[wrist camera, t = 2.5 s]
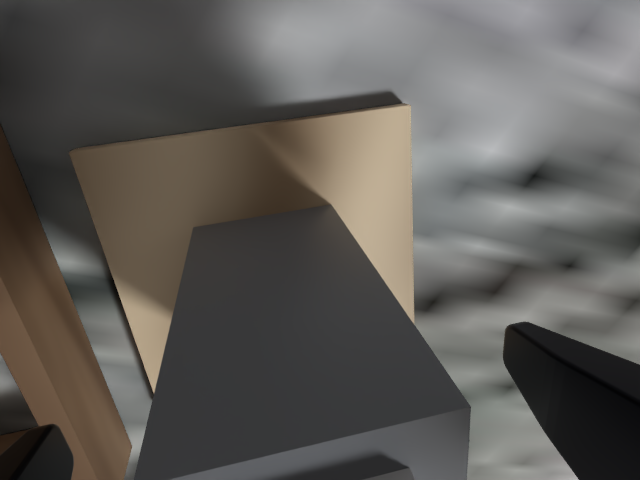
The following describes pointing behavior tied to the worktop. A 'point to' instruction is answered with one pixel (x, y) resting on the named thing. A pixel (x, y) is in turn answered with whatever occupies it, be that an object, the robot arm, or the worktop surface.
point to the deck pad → (246, 199)
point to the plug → (297, 365)
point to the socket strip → (51, 340)
